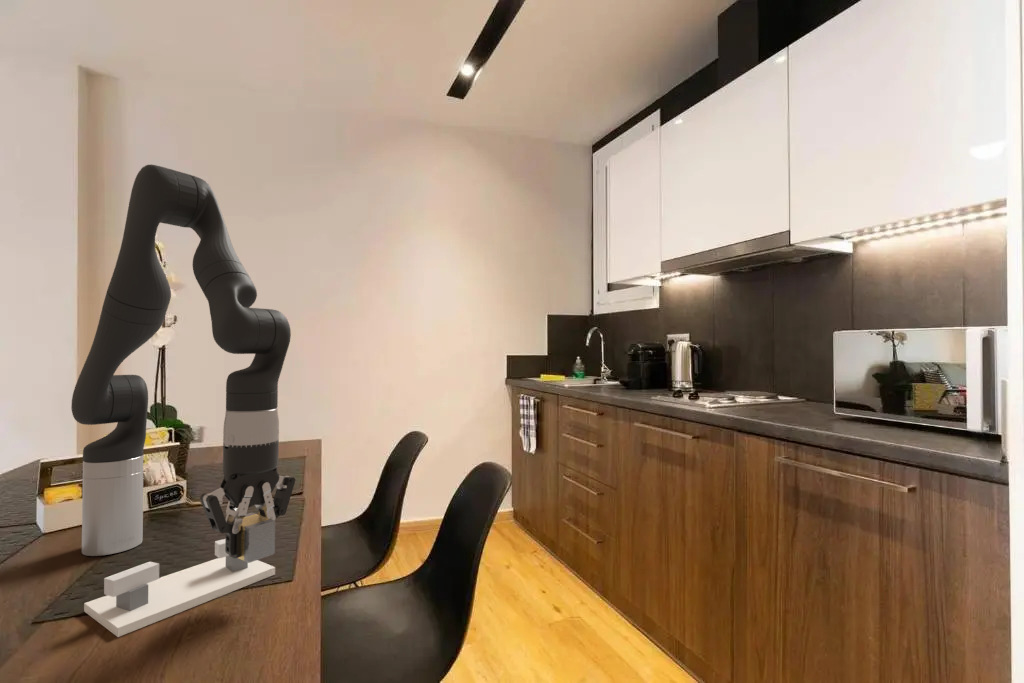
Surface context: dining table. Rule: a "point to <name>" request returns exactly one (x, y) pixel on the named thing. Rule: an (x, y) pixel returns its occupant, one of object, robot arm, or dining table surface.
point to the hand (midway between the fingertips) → (249, 550)
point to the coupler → (257, 537)
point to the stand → (169, 590)
